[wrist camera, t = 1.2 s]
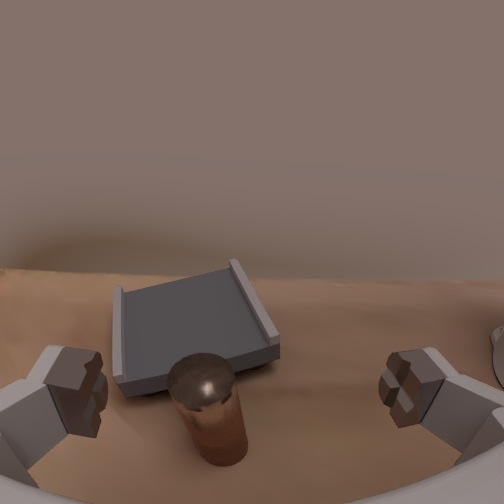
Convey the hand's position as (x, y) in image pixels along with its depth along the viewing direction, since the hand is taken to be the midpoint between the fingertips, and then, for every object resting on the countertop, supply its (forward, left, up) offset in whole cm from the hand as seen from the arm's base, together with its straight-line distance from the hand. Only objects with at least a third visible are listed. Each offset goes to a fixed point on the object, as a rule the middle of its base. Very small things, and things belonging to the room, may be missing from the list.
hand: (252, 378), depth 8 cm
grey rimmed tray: (+2, -28, -28) cm, 40 cm away
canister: (+2, -11, -28) cm, 30 cm away
